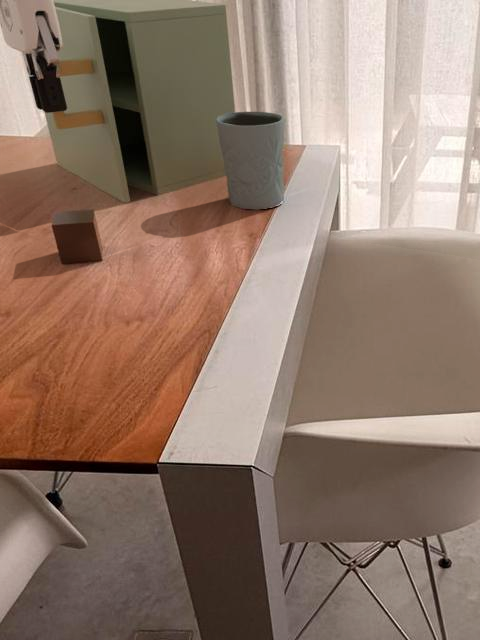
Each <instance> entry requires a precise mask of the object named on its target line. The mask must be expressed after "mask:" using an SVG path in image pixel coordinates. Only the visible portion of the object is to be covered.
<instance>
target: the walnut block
mask: <svg viewBox="0 0 480 640" xmlns="http://www.w3.org/2000/svg"><path fill="white" fill-rule="evenodd" d="M96 217H97V216H96V212H95V209H94V208H93V209H79V210H68V211H67V210H66V211H53V213H52V220H51V229H52V233H53V237H54V240H55V244H56V248H57V251H58V255H59V259H60V263H61V265H69V264H79V263H92V262H103V243H102V239H101V235H100V230H99V226H98V221H97V218H96Z"/></svg>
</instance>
